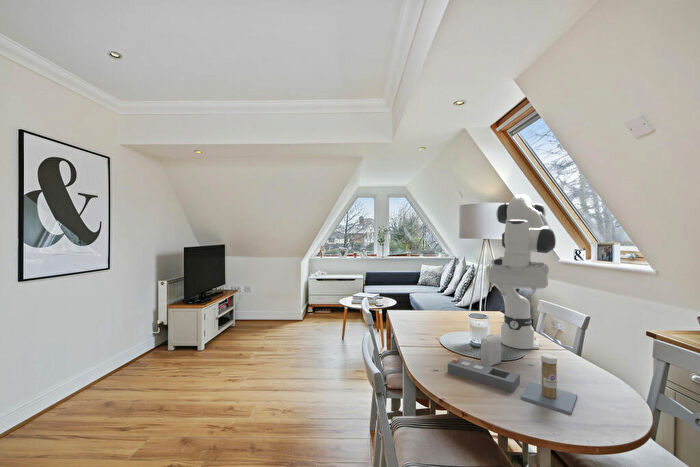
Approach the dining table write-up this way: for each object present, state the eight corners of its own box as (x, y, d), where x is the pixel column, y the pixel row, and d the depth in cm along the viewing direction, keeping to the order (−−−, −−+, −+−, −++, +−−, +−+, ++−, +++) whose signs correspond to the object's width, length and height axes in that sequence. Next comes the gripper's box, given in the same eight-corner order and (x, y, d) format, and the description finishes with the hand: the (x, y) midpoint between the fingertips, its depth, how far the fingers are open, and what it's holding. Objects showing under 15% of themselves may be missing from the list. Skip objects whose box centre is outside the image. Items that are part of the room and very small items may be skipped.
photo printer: (493, 359, 138) (493, 331, 138) (502, 362, 135) (502, 333, 135) (479, 364, 133) (479, 335, 133) (488, 368, 129) (488, 338, 129)
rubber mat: (530, 383, 116) (530, 381, 116) (577, 397, 106) (577, 394, 106) (520, 398, 105) (520, 396, 105) (570, 414, 96) (570, 412, 96)
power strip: (457, 365, 132) (457, 355, 132) (519, 383, 116) (519, 371, 116) (447, 372, 125) (447, 361, 125) (512, 392, 109) (512, 380, 109)
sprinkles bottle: (548, 399, 103) (548, 358, 103) (537, 392, 107) (537, 353, 107) (560, 398, 104) (560, 357, 104) (549, 391, 108) (549, 352, 108)
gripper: (550, 262, 116) (550, 299, 116) (492, 259, 130) (492, 292, 130) (546, 263, 111) (546, 302, 111) (487, 260, 125) (487, 294, 125)
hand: (517, 297), depth 120 cm, fingers open, 8 cm apart
